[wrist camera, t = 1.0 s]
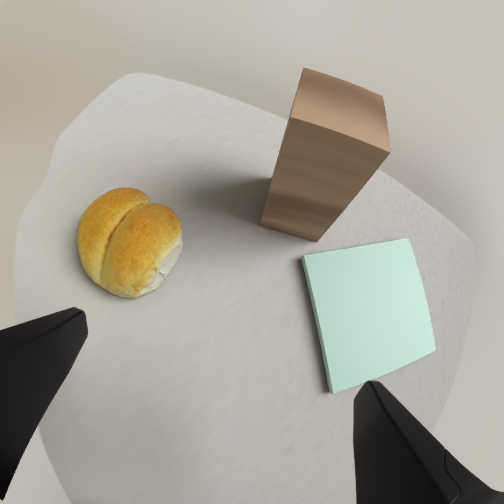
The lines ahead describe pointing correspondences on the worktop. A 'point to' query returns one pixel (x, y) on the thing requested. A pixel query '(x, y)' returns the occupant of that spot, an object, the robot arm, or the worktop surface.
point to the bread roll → (128, 242)
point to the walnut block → (325, 154)
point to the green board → (368, 311)
